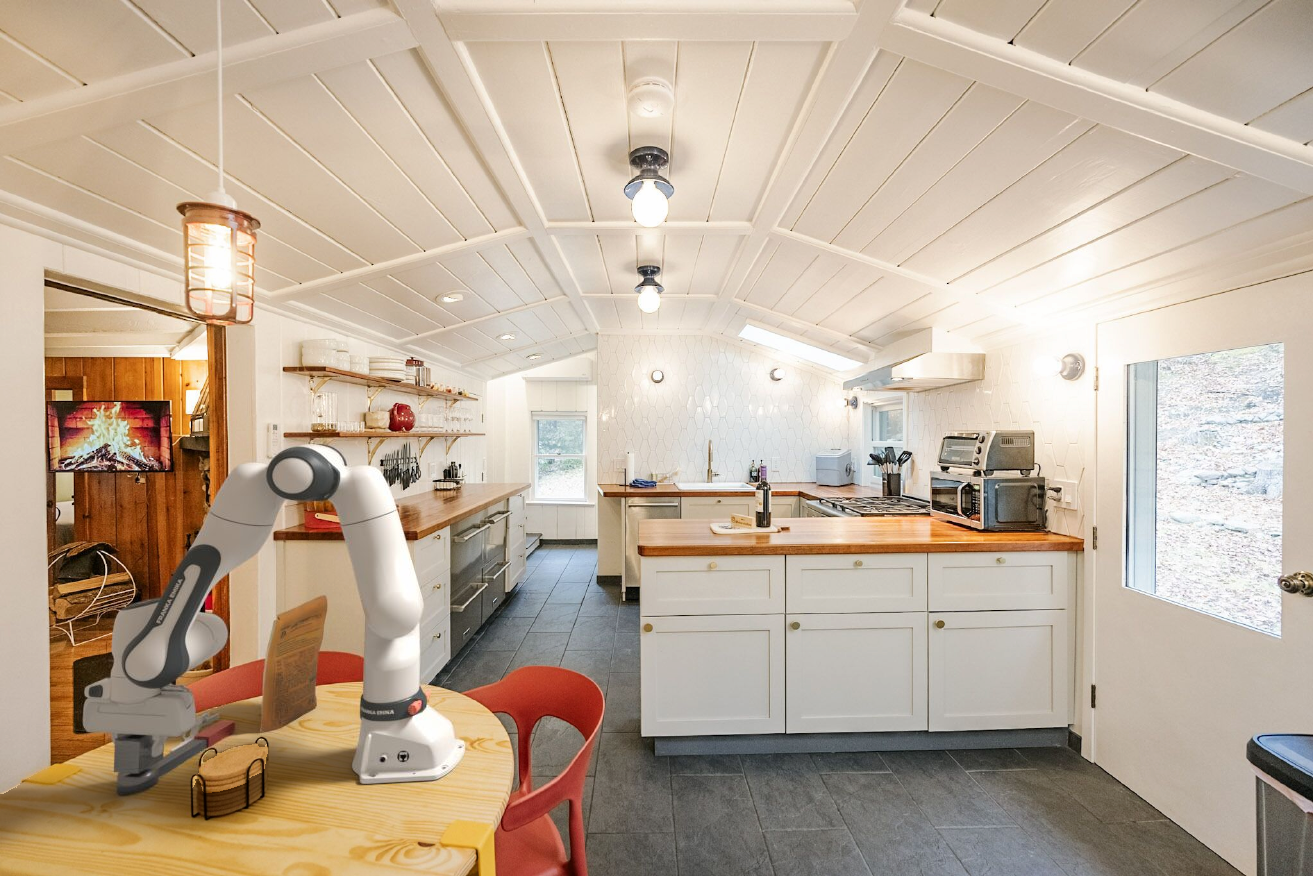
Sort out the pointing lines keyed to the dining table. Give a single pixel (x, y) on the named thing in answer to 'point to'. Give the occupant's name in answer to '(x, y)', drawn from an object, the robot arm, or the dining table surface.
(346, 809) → the dining table surface
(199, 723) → the pliers
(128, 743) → the socket
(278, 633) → the pancake mix bag
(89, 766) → the dining table surface
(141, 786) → the ratchet
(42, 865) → the dining table surface
